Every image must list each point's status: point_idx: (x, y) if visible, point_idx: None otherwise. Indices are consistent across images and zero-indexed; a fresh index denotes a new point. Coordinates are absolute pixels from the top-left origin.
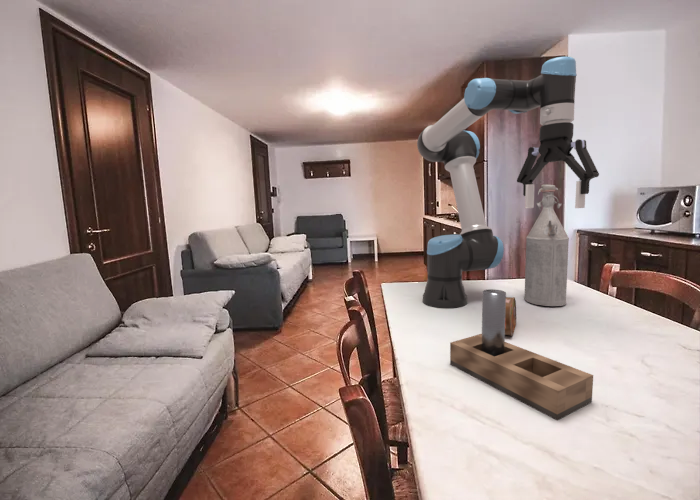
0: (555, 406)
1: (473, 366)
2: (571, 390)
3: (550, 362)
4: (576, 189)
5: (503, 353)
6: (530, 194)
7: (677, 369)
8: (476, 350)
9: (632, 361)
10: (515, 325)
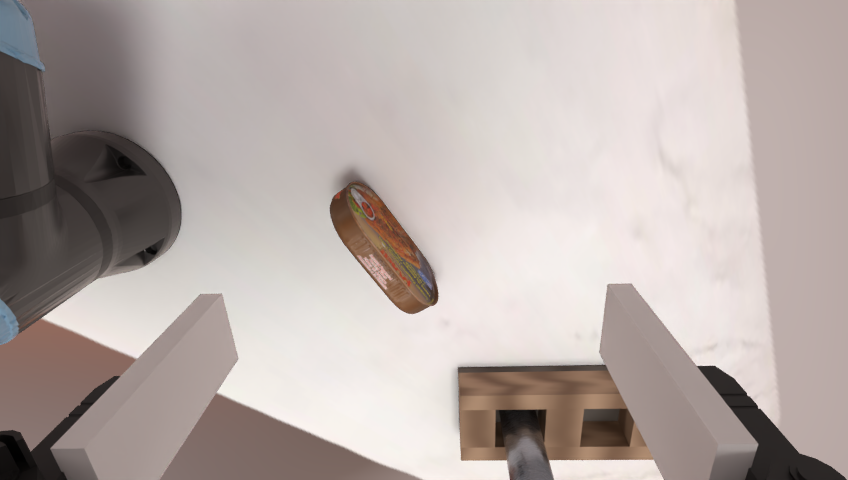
0: None
1: None
2: None
3: (612, 404)
4: (659, 460)
5: (538, 421)
6: (175, 411)
7: (721, 141)
8: None
9: (649, 175)
10: (381, 201)
